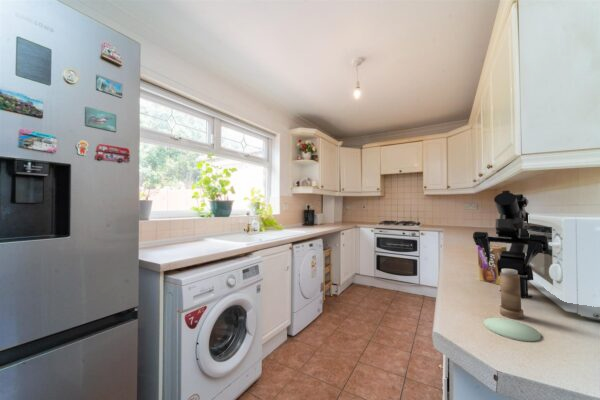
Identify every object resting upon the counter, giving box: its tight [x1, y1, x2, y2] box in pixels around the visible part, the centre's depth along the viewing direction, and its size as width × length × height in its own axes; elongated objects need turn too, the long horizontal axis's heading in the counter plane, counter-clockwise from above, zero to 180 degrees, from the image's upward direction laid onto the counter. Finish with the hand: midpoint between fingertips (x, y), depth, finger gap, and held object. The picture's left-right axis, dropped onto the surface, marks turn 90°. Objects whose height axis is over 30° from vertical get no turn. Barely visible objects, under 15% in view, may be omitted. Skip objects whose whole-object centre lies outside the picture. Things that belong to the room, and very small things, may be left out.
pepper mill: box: [499, 268, 525, 320], centre depth 70 cm, size 5×5×13 cm
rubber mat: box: [483, 317, 542, 342], centre depth 62 cm, size 11×11×1 cm
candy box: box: [477, 244, 508, 286], centre depth 100 cm, size 9×4×15 cm, turn 26°
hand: (506, 262), depth 77 cm, fingers open, 9 cm apart
